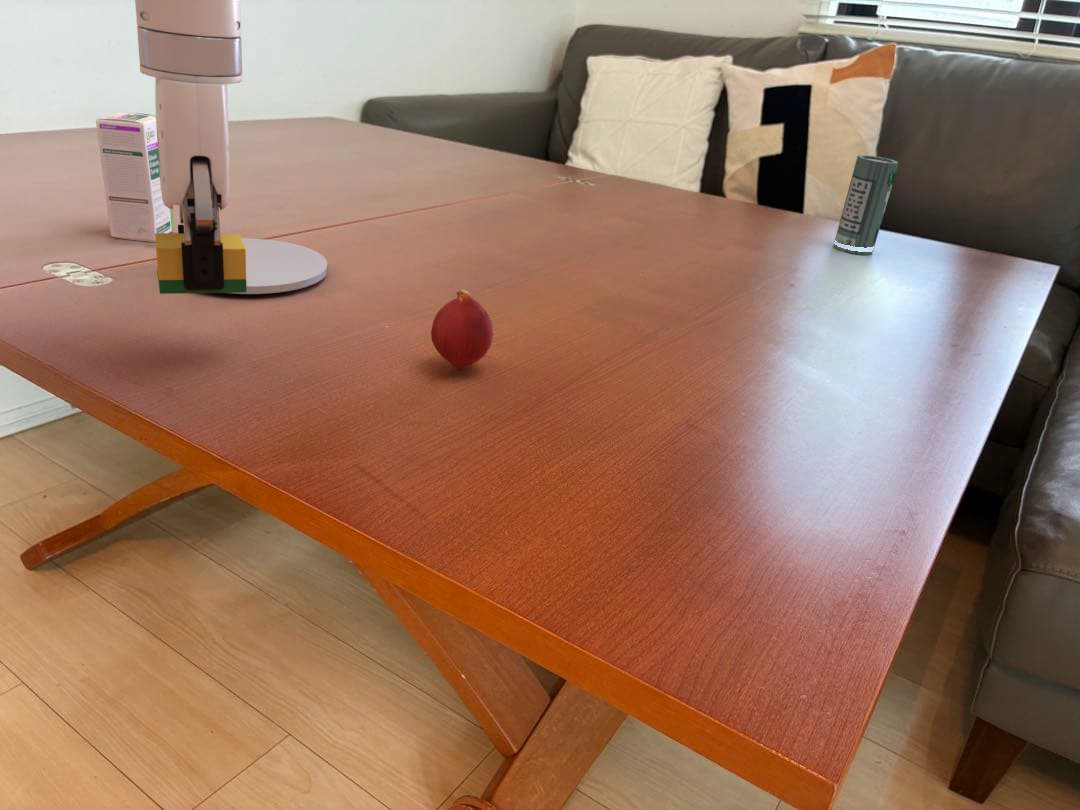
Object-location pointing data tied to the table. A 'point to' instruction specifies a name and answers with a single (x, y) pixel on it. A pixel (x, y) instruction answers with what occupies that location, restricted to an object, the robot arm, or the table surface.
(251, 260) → the plate
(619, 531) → the table surface
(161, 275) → the sponge
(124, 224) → the syrup box
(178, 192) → the robot arm
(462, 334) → the onion
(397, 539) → the table surface
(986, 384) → the table surface
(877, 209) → the can
